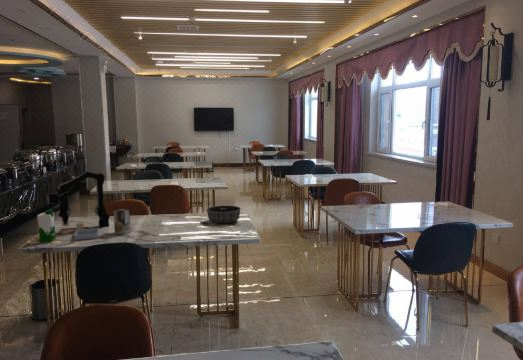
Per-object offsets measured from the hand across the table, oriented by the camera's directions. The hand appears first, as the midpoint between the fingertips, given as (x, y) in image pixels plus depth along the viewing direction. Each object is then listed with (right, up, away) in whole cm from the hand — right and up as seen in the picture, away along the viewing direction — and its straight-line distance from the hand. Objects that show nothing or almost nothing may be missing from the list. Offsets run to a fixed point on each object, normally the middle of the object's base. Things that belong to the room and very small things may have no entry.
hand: (65, 223), depth 305 cm
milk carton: (-4, -9, -19) cm, 21 cm away
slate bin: (+19, -8, -10) cm, 23 cm away
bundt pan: (+107, -1, +31) cm, 112 cm away
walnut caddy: (+4, -6, +2) cm, 8 cm away
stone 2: (+9, -5, +4) cm, 11 cm away
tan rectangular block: (0, -1, 0) cm, 1 cm away
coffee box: (+40, -6, 0) cm, 40 cm away
